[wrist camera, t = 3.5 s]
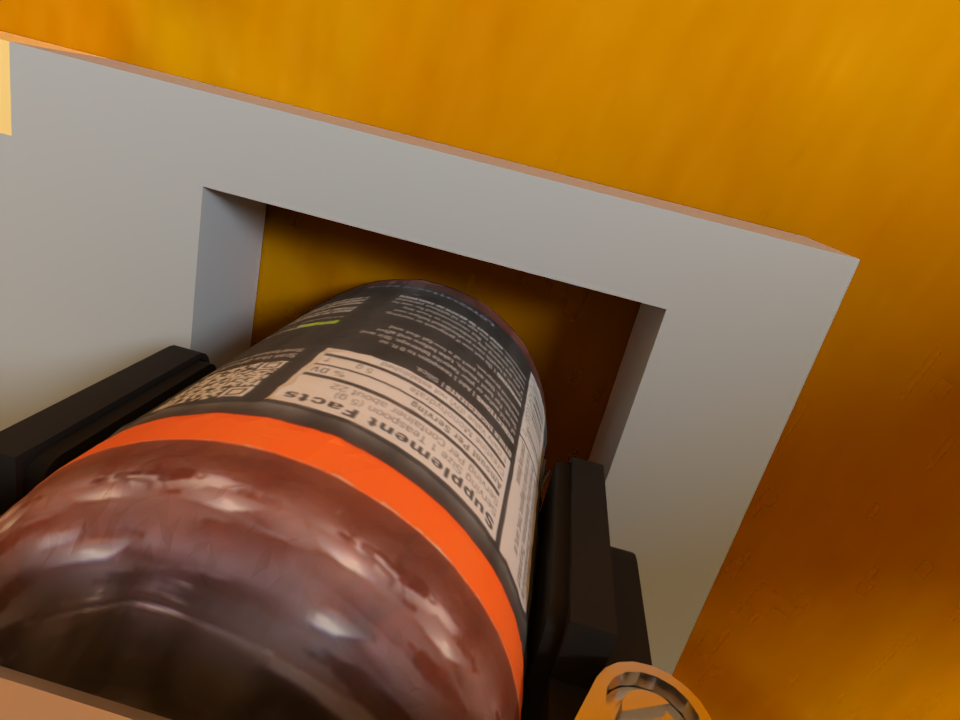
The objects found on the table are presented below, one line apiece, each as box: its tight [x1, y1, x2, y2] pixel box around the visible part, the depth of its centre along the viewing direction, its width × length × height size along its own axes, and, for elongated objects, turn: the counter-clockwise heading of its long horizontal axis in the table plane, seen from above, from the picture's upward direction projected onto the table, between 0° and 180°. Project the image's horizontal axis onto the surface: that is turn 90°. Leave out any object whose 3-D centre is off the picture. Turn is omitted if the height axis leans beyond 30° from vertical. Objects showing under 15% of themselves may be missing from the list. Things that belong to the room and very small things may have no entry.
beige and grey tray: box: [0, 31, 860, 676], centre depth 13 cm, size 28×11×2 cm, turn 77°
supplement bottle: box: [0, 279, 550, 720], centre depth 9 cm, size 6×6×11 cm
